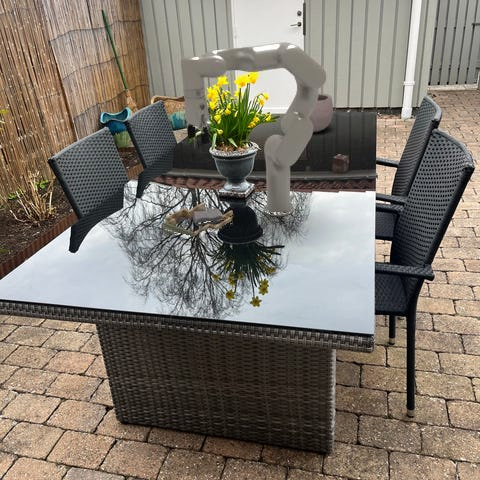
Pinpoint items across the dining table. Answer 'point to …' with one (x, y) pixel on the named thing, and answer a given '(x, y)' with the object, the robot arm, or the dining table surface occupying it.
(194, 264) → the dining table surface
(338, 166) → the box
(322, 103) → the plant pot
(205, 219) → the stone block
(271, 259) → the dining table surface
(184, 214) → the box
